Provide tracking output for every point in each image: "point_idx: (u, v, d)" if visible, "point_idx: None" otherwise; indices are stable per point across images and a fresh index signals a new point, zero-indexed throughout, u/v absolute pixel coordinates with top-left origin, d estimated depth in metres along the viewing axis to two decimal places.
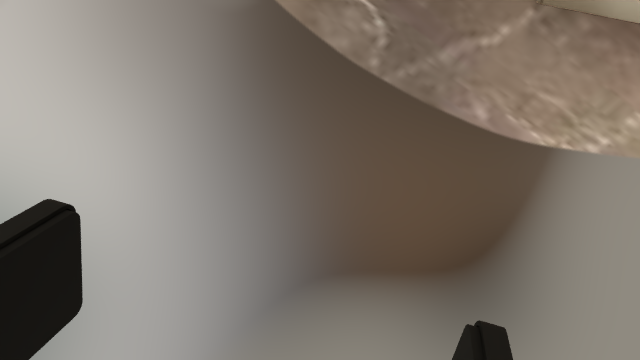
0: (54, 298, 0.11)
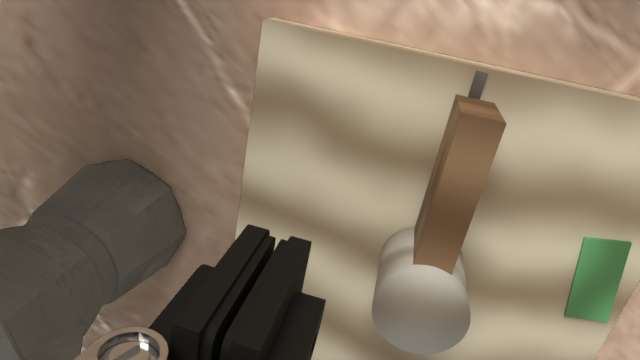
0: None
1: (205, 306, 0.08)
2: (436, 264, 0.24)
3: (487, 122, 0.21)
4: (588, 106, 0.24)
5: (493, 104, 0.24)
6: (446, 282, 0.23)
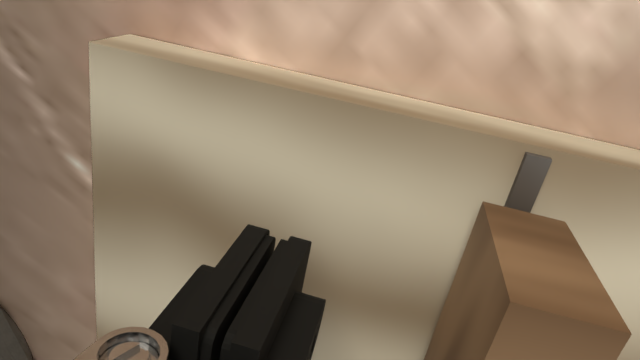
0: None
1: (205, 306, 0.08)
2: None
3: (579, 328, 0.08)
4: None
5: (566, 229, 0.11)
6: None
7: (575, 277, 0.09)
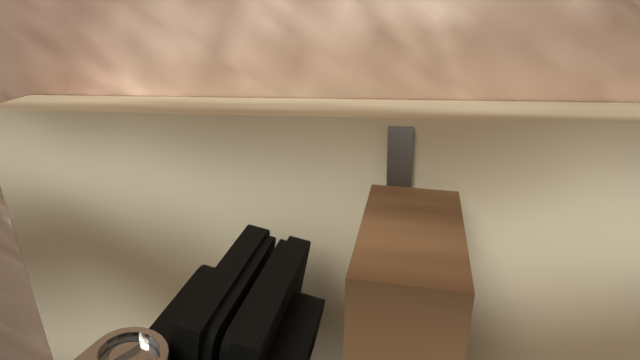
0: None
1: (205, 306, 0.08)
2: None
3: (421, 295, 0.07)
4: None
5: (454, 199, 0.10)
6: None
7: (438, 245, 0.09)
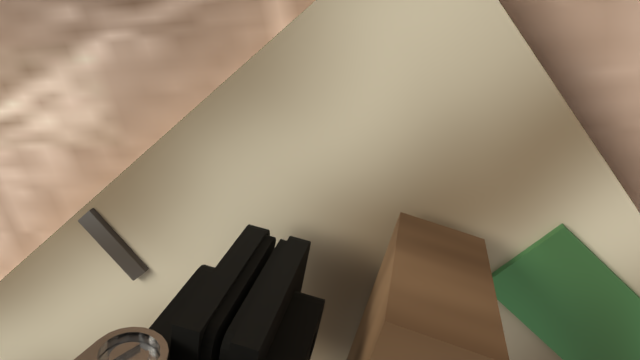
0: None
1: (205, 306, 0.08)
2: None
3: (456, 355, 0.07)
4: (229, 118, 0.12)
5: (481, 247, 0.10)
6: None
7: (471, 299, 0.09)
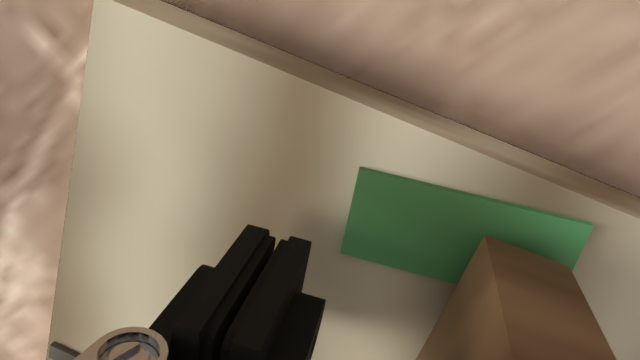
0: None
1: (205, 306, 0.08)
2: None
3: None
4: (88, 222, 0.14)
5: (570, 276, 0.10)
6: None
7: (581, 335, 0.08)
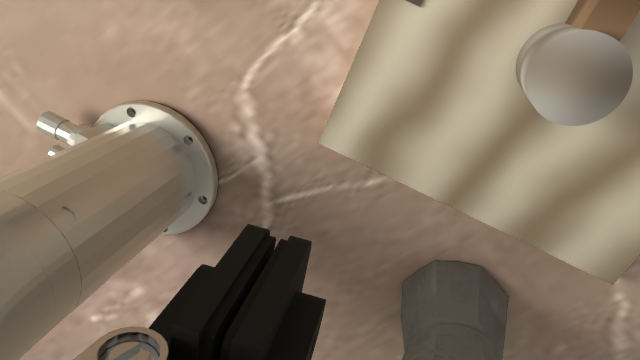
0: None
1: (205, 306, 0.08)
2: (606, 30, 0.25)
3: None
4: None
5: None
6: (618, 42, 0.24)
7: None
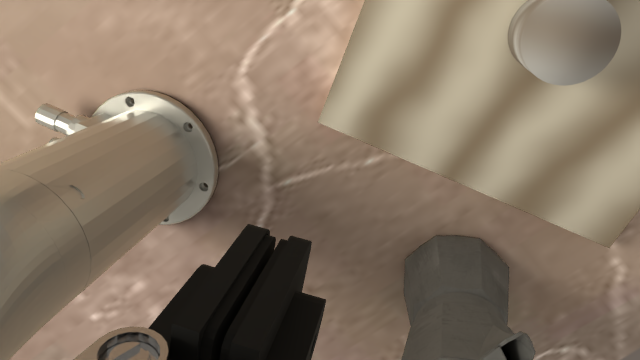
0: None
1: (205, 306, 0.08)
2: None
3: None
4: None
5: None
6: (606, 1, 0.25)
7: None
